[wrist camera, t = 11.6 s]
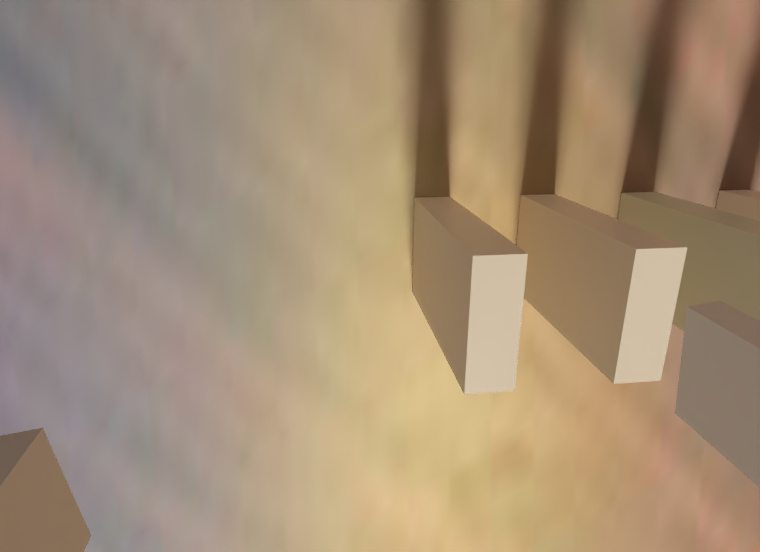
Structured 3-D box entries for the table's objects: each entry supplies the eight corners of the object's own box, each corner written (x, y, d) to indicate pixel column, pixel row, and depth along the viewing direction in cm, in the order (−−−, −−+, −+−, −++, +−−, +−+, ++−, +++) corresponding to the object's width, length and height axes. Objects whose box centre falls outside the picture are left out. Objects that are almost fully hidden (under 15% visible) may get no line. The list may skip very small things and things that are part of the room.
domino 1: (412, 291, 27) (464, 394, 18) (414, 197, 25) (472, 255, 16) (445, 290, 27) (514, 390, 18) (449, 196, 26) (527, 253, 16)
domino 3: (608, 283, 28) (753, 374, 19) (621, 192, 27) (787, 244, 17) (639, 281, 29) (797, 371, 19) (653, 191, 27) (834, 242, 18)
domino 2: (512, 287, 28) (613, 383, 18) (520, 195, 26) (636, 249, 17) (544, 285, 28) (660, 380, 19) (554, 194, 26) (687, 247, 17)
